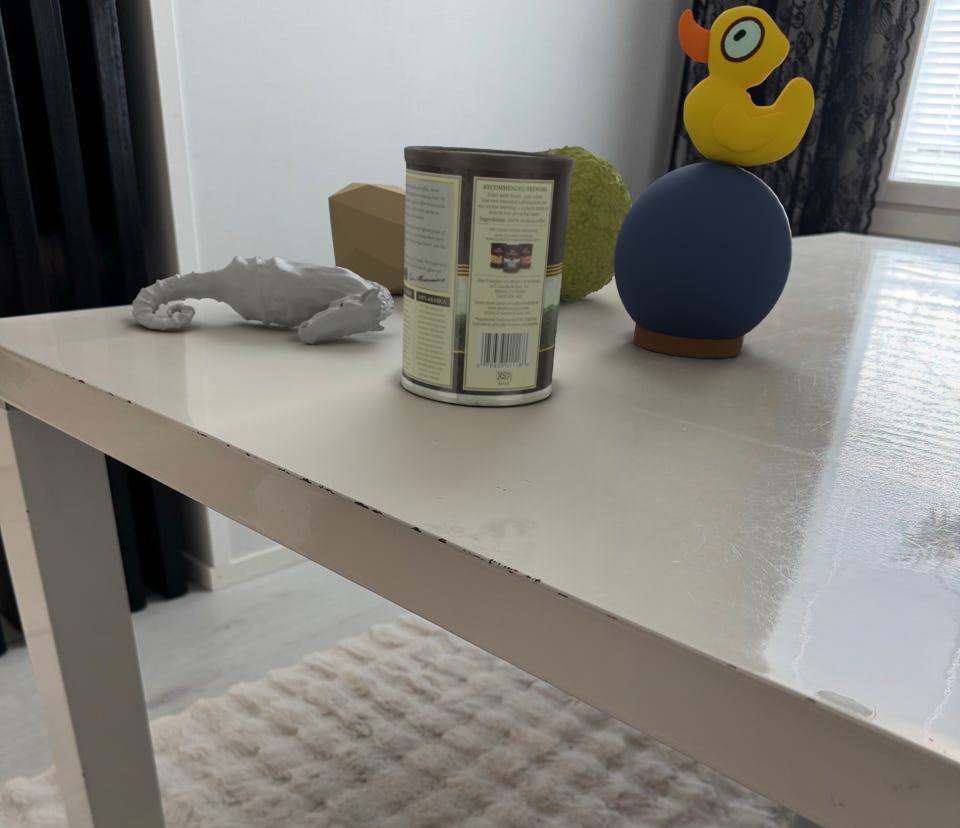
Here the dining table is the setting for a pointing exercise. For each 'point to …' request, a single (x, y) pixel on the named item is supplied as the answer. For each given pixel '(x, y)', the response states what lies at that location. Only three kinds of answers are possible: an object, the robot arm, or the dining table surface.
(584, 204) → the fruit
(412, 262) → the coffee can
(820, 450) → the dining table surface
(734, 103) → the duckling
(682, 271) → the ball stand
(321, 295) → the seahorse
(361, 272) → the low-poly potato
